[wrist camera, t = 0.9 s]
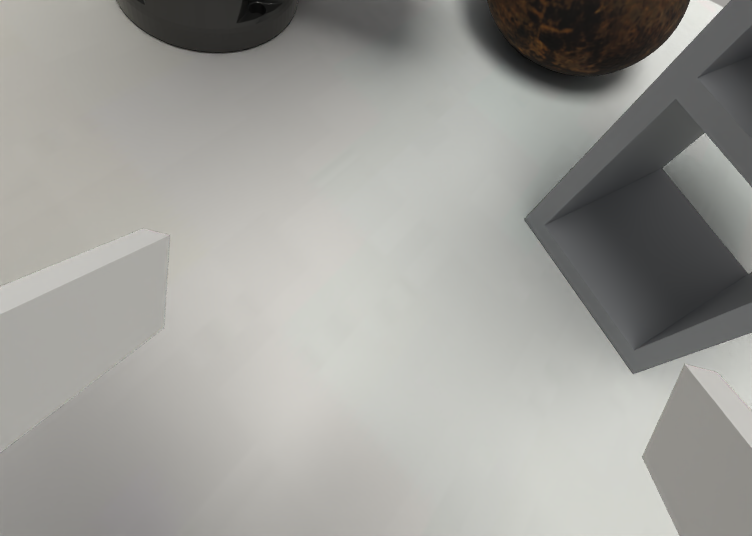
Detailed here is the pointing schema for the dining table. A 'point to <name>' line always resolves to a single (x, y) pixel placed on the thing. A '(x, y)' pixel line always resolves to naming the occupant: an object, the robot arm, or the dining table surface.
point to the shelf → (660, 208)
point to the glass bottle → (587, 31)
